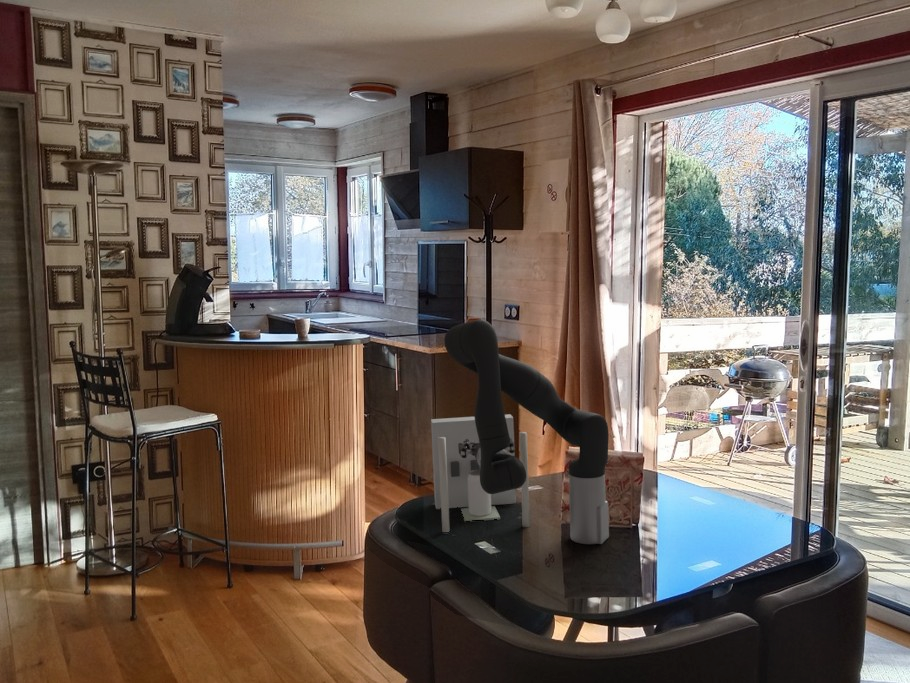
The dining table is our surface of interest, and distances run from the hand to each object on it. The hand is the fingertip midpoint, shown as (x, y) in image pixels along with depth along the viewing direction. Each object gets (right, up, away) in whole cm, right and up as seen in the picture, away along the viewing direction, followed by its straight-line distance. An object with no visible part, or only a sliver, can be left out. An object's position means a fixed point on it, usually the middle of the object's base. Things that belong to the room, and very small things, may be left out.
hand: (482, 441), depth 212 cm
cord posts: (+1, -24, +2) cm, 24 cm away
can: (0, -23, +13) cm, 26 cm away
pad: (0, -23, +14) cm, 27 cm away
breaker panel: (-1, -22, +24) cm, 32 cm away
